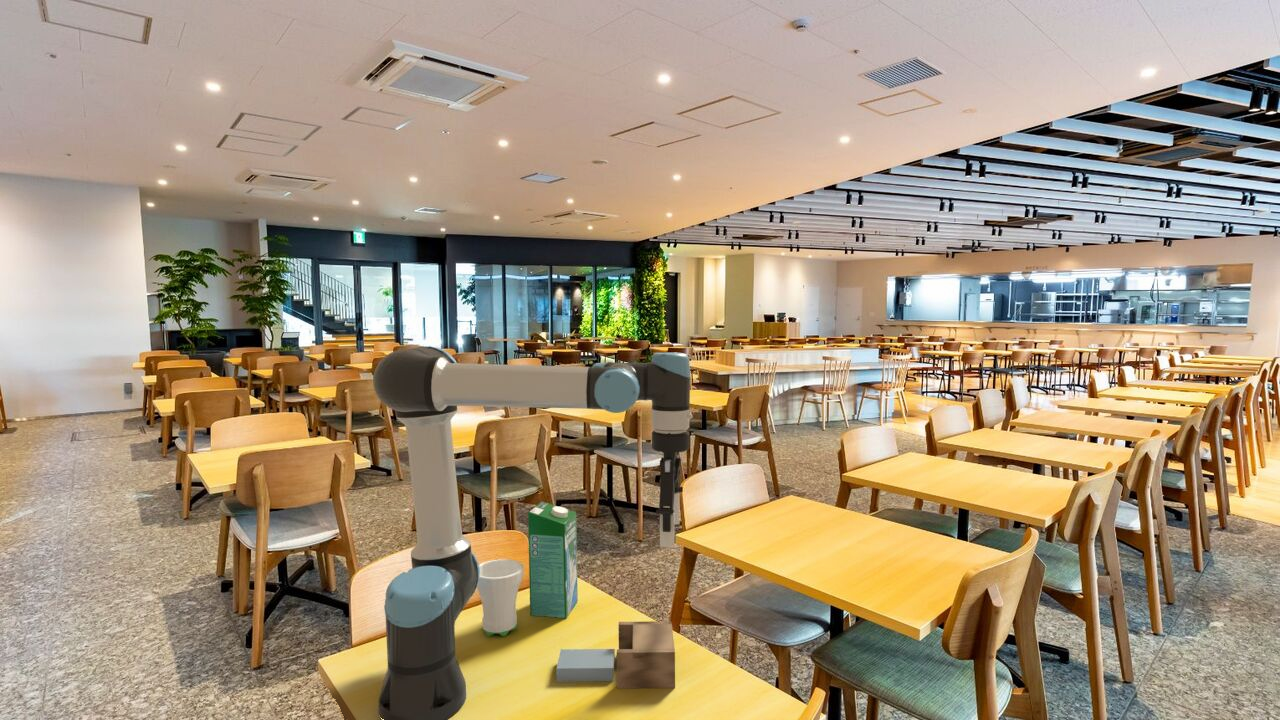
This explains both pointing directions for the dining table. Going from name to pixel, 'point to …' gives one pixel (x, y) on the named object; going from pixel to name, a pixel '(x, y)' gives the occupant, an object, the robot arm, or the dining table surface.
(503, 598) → the cup
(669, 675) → the brown notched block
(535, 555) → the milk carton
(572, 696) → the dining table surface
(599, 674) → the slab
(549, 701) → the dining table surface
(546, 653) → the dining table surface
